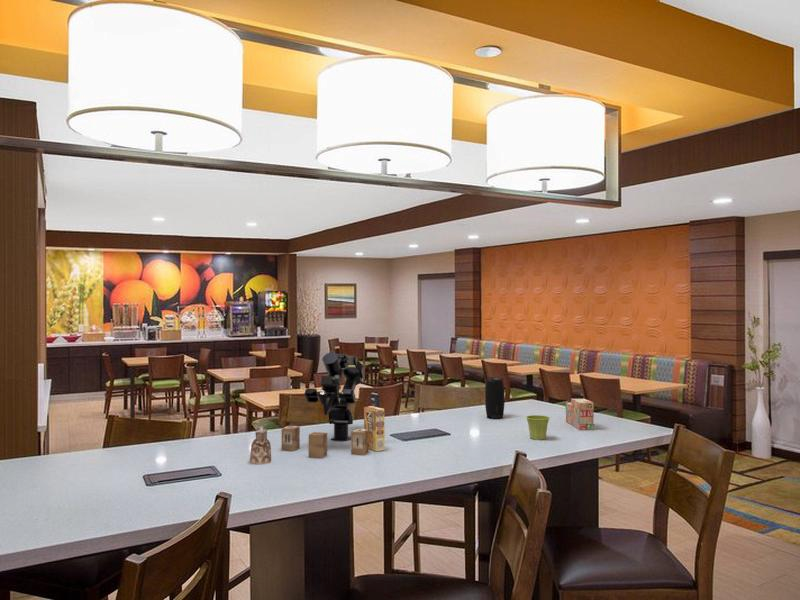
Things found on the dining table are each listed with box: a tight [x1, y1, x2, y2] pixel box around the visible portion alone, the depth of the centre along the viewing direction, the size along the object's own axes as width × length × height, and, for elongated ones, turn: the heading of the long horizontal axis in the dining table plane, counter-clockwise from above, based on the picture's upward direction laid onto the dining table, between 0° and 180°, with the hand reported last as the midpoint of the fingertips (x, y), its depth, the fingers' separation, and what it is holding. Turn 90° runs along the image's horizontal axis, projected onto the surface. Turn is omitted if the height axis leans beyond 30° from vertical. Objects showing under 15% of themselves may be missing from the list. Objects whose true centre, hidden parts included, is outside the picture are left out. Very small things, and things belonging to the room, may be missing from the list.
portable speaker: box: [484, 376, 506, 420], centre depth 290 cm, size 9×9×20 cm
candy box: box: [363, 405, 386, 452], centre depth 222 cm, size 9×4×15 cm, turn 33°
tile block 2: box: [350, 428, 370, 456], centre depth 215 cm, size 5×5×8 cm
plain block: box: [308, 431, 328, 459], centre depth 210 cm, size 5×5×8 cm
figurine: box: [249, 424, 272, 465], centre depth 202 cm, size 7×7×12 cm
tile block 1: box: [281, 425, 301, 452], centre depth 221 cm, size 5×5×8 cm
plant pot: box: [525, 414, 551, 441], centre depth 241 cm, size 9×9×9 cm
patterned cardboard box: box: [565, 398, 595, 432], centre depth 269 cm, size 21×6×12 cm, turn 1°
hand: (325, 414), depth 219 cm, fingers closed
